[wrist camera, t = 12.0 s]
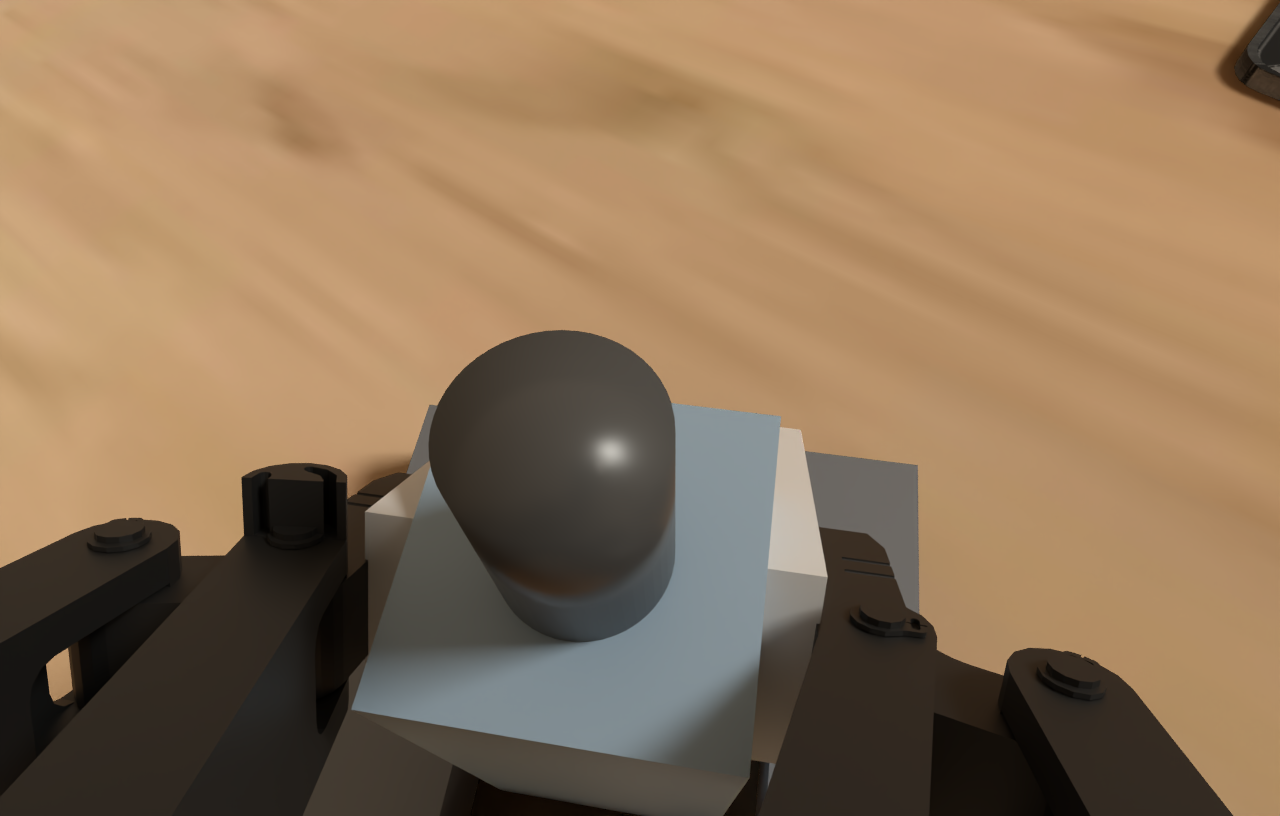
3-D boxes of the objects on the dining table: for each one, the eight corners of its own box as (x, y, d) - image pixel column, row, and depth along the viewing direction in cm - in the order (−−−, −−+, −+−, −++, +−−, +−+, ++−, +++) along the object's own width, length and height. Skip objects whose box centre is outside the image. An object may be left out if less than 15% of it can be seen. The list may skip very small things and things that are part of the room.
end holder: (893, 507, 21) (917, 465, 19) (889, 1090, 15) (924, 1125, 13) (453, 450, 22) (429, 404, 20) (293, 964, 17) (235, 976, 14)
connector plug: (736, 613, 18) (814, 266, 8) (713, 828, 16) (782, 731, 6) (548, 585, 19) (393, 224, 9) (501, 790, 17) (218, 638, 6)
